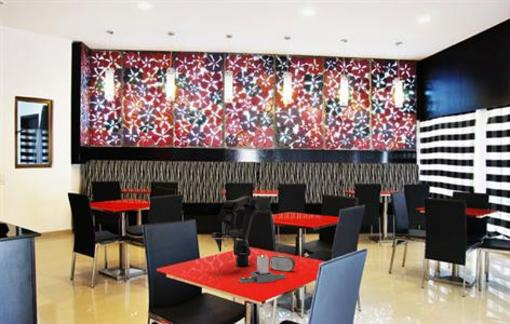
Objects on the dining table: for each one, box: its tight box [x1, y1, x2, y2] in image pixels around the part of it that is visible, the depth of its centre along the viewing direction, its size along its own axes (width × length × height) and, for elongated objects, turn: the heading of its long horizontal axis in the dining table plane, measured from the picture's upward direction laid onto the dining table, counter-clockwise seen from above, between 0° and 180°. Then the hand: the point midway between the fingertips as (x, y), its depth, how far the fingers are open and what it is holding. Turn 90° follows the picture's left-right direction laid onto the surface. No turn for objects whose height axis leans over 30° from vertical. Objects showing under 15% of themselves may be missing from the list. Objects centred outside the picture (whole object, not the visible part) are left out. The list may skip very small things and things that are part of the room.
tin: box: [268, 254, 296, 273], centre depth 247 cm, size 15×3×8 cm, turn 65°
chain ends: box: [238, 270, 287, 284], centre depth 228 cm, size 9×24×4 cm, turn 110°
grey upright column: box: [256, 254, 269, 275], centre depth 228 cm, size 4×4×13 cm
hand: (227, 252), depth 243 cm, fingers open, 9 cm apart
